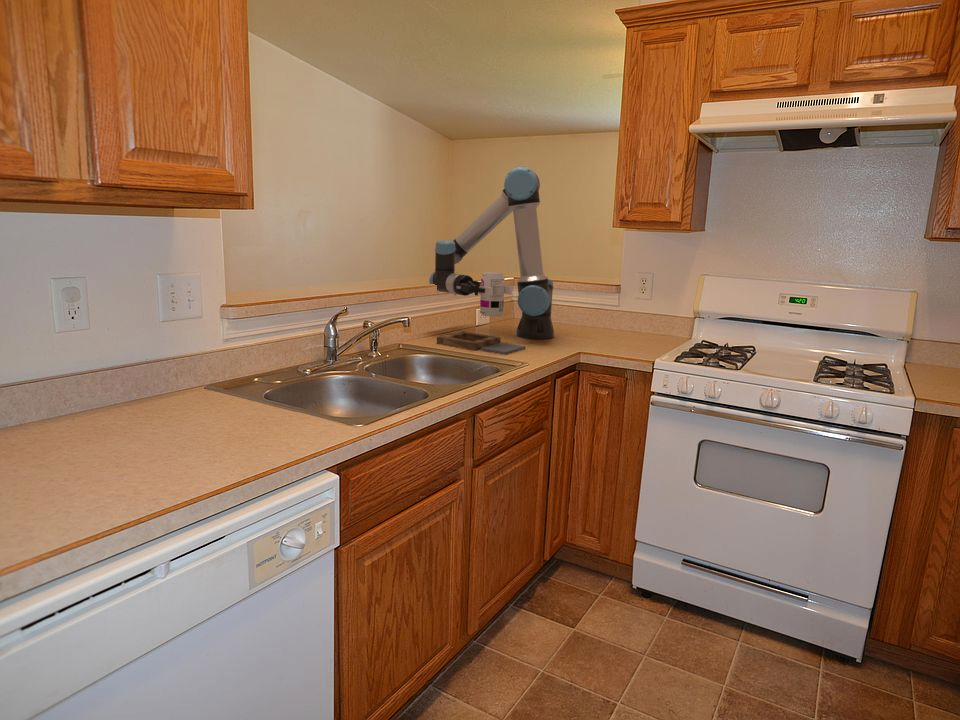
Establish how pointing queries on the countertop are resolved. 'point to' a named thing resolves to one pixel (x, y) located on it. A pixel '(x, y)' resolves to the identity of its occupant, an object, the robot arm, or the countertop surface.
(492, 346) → the slate mat
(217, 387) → the countertop surface
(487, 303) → the supplement can
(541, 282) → the robot arm
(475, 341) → the walnut collar
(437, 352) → the countertop surface
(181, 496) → the countertop surface
